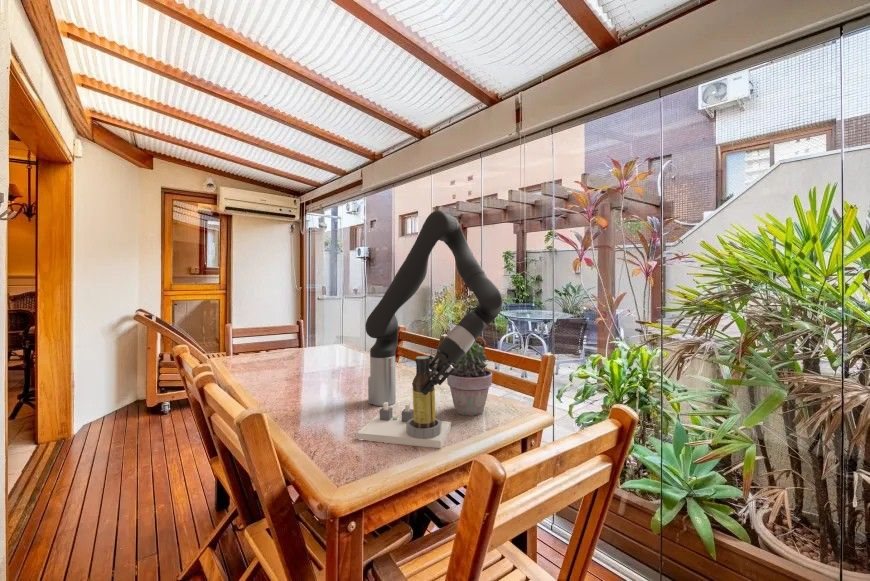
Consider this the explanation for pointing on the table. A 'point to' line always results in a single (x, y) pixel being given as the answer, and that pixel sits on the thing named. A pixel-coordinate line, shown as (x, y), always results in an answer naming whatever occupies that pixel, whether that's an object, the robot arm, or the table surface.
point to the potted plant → (470, 380)
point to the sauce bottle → (421, 402)
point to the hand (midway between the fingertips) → (418, 389)
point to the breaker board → (403, 429)
